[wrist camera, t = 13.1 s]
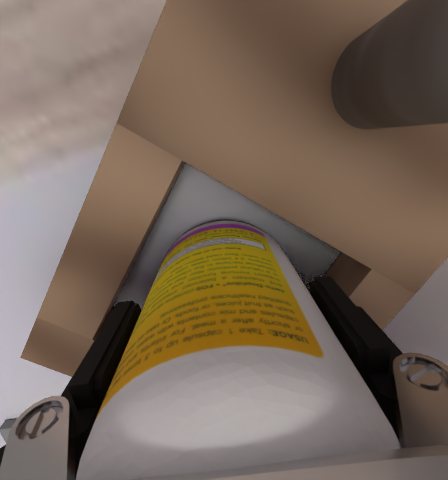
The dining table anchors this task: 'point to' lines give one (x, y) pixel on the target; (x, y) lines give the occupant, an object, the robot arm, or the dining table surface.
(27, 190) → the dining table surface
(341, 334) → the robot arm
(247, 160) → the collar stand
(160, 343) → the supplement bottle
